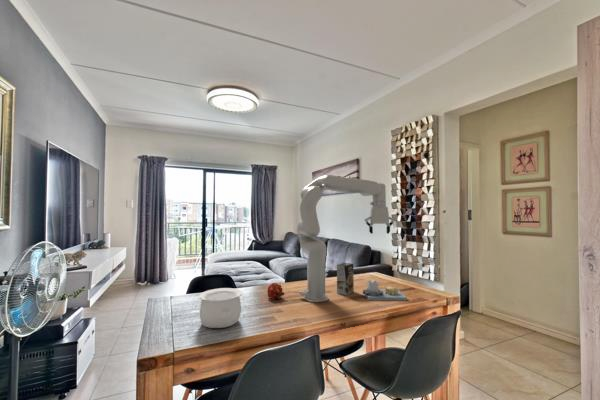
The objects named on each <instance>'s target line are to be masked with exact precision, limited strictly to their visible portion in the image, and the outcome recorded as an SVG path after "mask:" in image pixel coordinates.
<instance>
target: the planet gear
mask: <svg viewBox="0 0 600 400" xmlns="http://www.w3.org/2000/svg"><path fill="white" fill-rule="evenodd" d="M366 282H367V285H366V286H367V288H366V289H363V290H362V294H363V295H364V294H365V295H369V296H380V295H383V291H380V290H381V289H379V282H378V281H376V280H375V283H372V280H367V281H366ZM365 295H364V296H365Z"/></svg>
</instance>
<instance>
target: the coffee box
mask: <svg viewBox="0 0 600 400" xmlns="http://www.w3.org/2000/svg"><path fill="white" fill-rule="evenodd" d="M354 278H355V276H354V263H349V262H344V263H340V264H336V294H339V295H342V296H343V295H344V296H348V295H350V294H351V293H352V294H353V293H354V291H355V288H354V286H355V285H354V284H355V283H354V282H355V281H354Z"/></svg>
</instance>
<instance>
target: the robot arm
mask: <svg viewBox="0 0 600 400" xmlns="http://www.w3.org/2000/svg"><path fill="white" fill-rule="evenodd" d="M326 191H331V192H339V193H343V194H356V193H358V194H360V195H361V196H364V197H369V196H370V197H371V196H372V201H371V202H370V203H369V204H370V205H371V209H370V216H368V217H366V218H365V219H364V221H365V223H366V225H367V226H368V229H369V231H368V232H369V233H370V234H372V235H373V233H374V232H373V225H375V224H376V225H377V224H379V225H380V224H381V225H382V224H385V225H386V234H390V232H391V226H392V225H394V222H395V218H393V217H391V216H390V214H389V208H388V206H387V203H386V202H387V200H386V198H387V197H386V196H387V195H386V194H387V193H386V192H387V191H386V184H385V183H378V182H376V181H373V180H368V179H360V178H352V177H351V178H349V177H344V176H339V175H332V174H324V175H321V176H319V177H317V178H316V179H315V180H313V181H312V182H310V183H309V184H308V185H306V186H304V188H302V189H301V192H300V199H301V201H300V205H299V212H300V218H301V219H300V221H299V222H298V223H297V226H296V227H297V228H296V230H297V236H298V242H299V244H300V247H301V248H300V249H301V250H302V252H303V253H304V254H306V255H308V258H307V268H306V269H307V271H306V272H307V273H306V274H307V275H306V276H307V277H306V278H307V281H306V282H307V288H306V290H298V294H299V295H301V296H304V300H305V301H307V302H310V303H325V302H327V301H328V300H329V296H328V295H327V294H326V257H327V245H326V243H325V242H324V241H323V240H321V239H319V238H316V237H318V236H319V235H320V232H321V227H320V222H319V220H318V214H317V205H318V203H319V201H320V200H321V199H322V197H323V192H326ZM369 220H370V222H369ZM299 295H298V296H299Z"/></svg>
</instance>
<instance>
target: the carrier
mask: <svg viewBox="0 0 600 400" xmlns="http://www.w3.org/2000/svg"><path fill="white" fill-rule="evenodd" d="M371 281H372V283H375V281H376V280H374V279H372V280H371ZM379 290H380V291H383V295H380V296H369V295H365V294H363V296H365V298H366V299H367V300H368V301H408V297H407V296H406V295H405V294H404V293H402V291H400V290H399V288H398V287H396V286H389V285H388V286H385V287H384V289H379Z"/></svg>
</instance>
